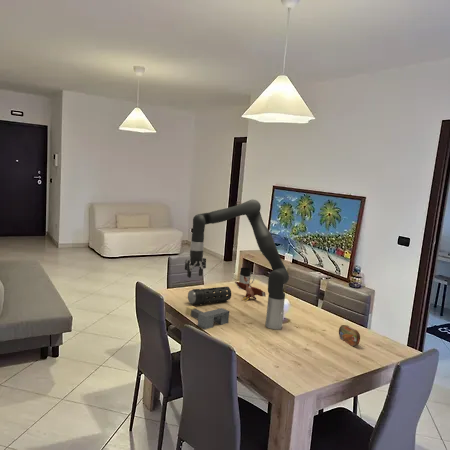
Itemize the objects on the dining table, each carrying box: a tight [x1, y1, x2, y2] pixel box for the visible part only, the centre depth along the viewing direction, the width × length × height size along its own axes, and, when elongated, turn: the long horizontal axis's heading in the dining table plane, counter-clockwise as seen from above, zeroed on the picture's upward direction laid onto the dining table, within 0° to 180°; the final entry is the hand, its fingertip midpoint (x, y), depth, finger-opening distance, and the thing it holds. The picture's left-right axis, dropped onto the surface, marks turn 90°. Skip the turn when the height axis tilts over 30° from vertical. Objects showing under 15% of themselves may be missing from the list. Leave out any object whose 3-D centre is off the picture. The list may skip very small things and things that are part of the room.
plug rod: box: [185, 305, 204, 320], centre depth 237 cm, size 16×4×4 cm, turn 46°
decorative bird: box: [234, 277, 267, 302], centre depth 278 cm, size 28×18×15 cm, turn 42°
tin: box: [338, 324, 361, 347], centre depth 219 cm, size 15×3×8 cm, turn 21°
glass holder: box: [237, 267, 256, 291], centre depth 306 cm, size 9×14×15 cm, turn 40°
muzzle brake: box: [187, 286, 232, 306], centre depth 265 cm, size 10×28×10 cm, turn 123°
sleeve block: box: [197, 307, 230, 330], centre depth 228 cm, size 6×18×7 cm, turn 135°
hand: (194, 276), depth 239 cm, fingers open, 8 cm apart
